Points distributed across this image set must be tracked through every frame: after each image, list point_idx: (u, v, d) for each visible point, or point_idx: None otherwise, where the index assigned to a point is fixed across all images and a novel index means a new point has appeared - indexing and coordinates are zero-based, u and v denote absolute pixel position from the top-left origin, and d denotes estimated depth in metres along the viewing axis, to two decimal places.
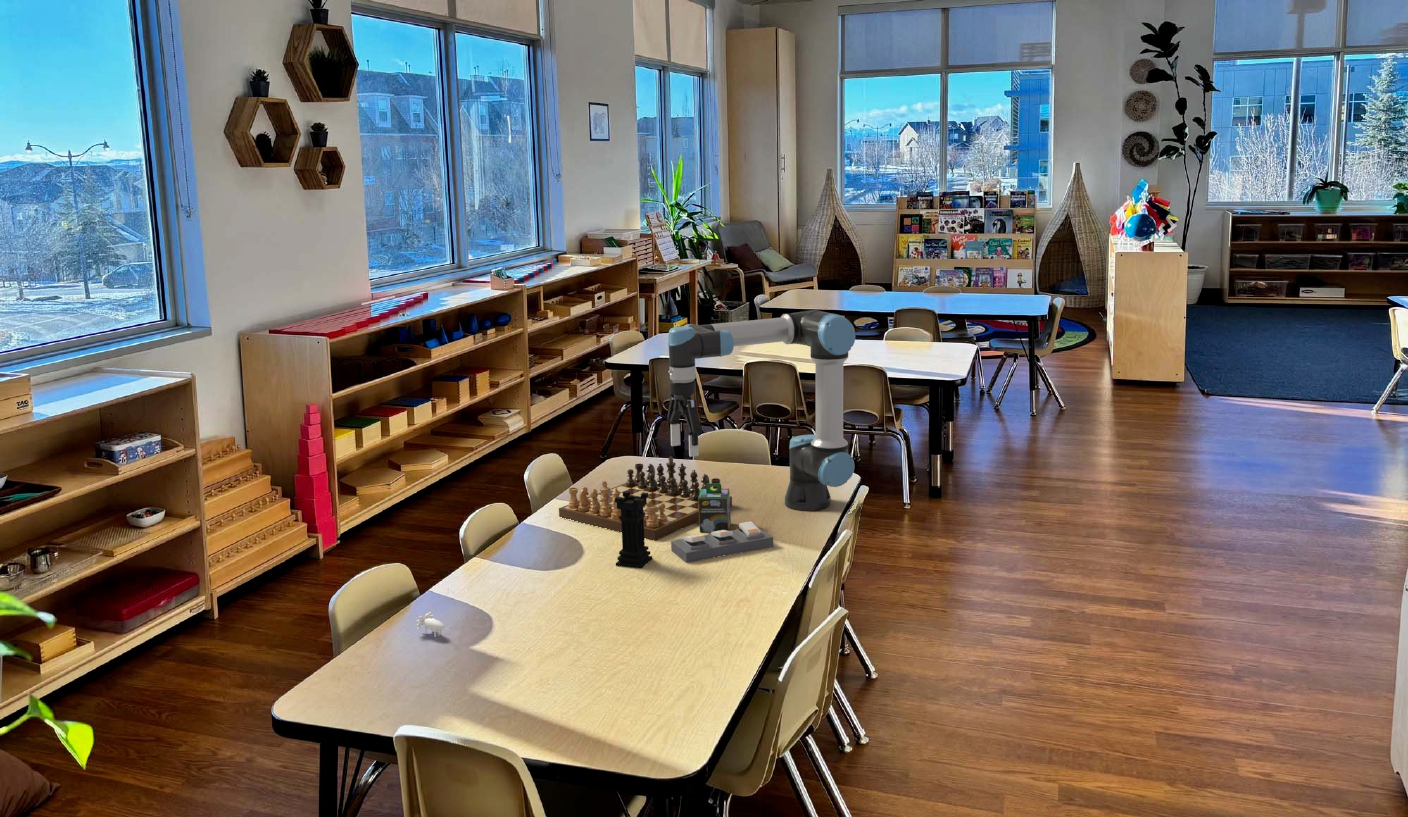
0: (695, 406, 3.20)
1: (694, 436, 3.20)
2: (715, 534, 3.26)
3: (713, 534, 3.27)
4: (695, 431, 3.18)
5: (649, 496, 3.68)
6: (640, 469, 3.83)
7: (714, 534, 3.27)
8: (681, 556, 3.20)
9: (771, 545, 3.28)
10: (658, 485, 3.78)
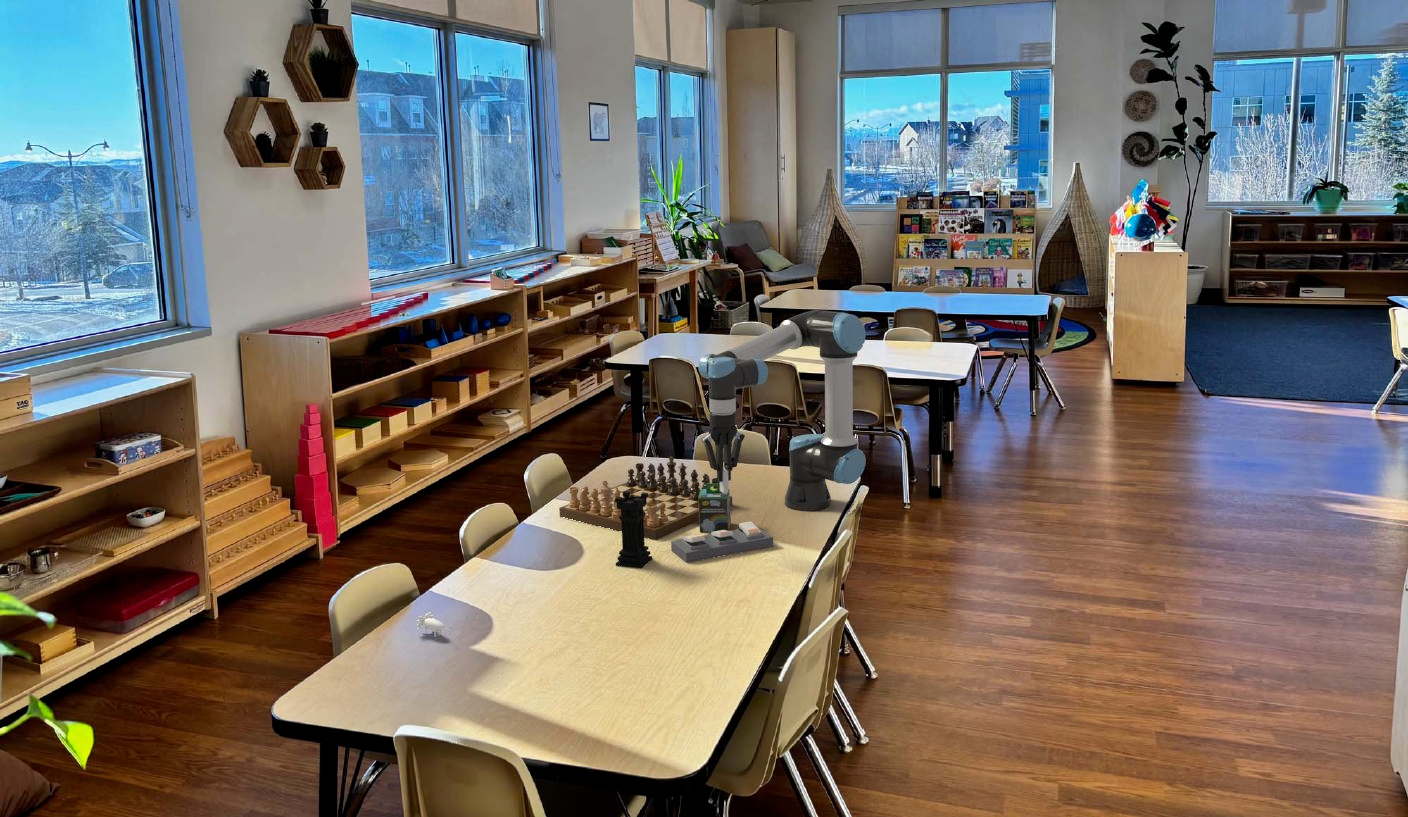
0: (706, 445, 3.15)
1: (717, 471, 3.20)
2: (715, 534, 3.26)
3: (713, 534, 3.27)
4: (710, 466, 3.19)
5: (649, 496, 3.69)
6: (640, 469, 3.83)
7: (714, 534, 3.27)
8: (681, 556, 3.20)
9: (771, 545, 3.28)
10: (658, 485, 3.79)
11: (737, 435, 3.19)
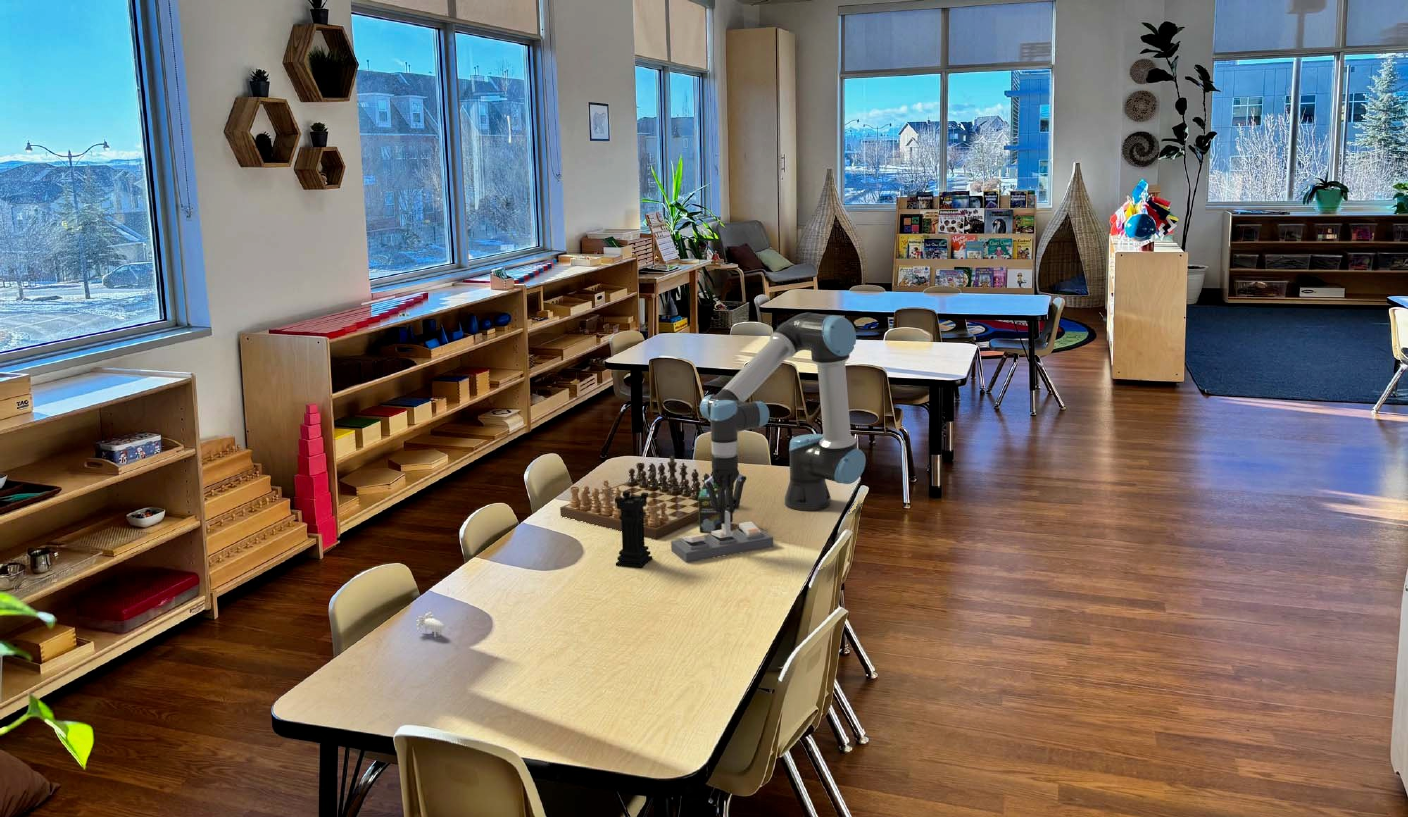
0: (709, 487, 3.17)
1: (719, 513, 3.22)
2: (715, 534, 3.26)
3: (713, 534, 3.27)
4: (712, 508, 3.21)
5: (650, 495, 3.69)
6: (641, 468, 3.84)
7: (714, 534, 3.27)
8: (681, 556, 3.20)
9: (771, 545, 3.28)
10: (659, 484, 3.79)
11: (739, 477, 3.21)
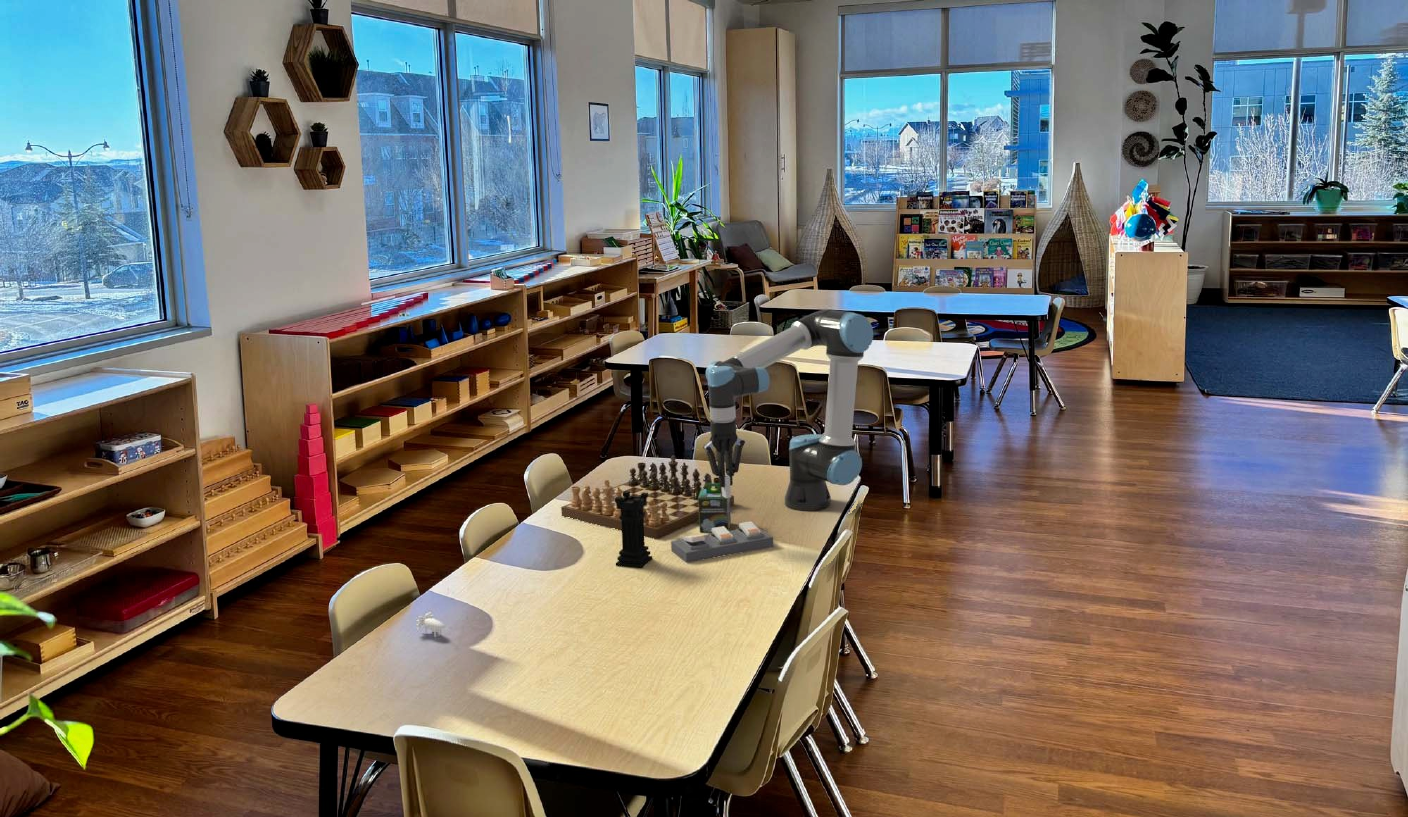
0: (708, 452, 3.23)
1: (719, 477, 3.28)
2: (715, 534, 3.26)
3: (713, 532, 3.27)
4: (713, 473, 3.27)
5: (651, 495, 3.69)
6: (642, 468, 3.84)
7: (714, 533, 3.26)
8: (681, 556, 3.20)
9: (771, 545, 3.28)
10: (660, 484, 3.79)
11: (737, 441, 3.27)
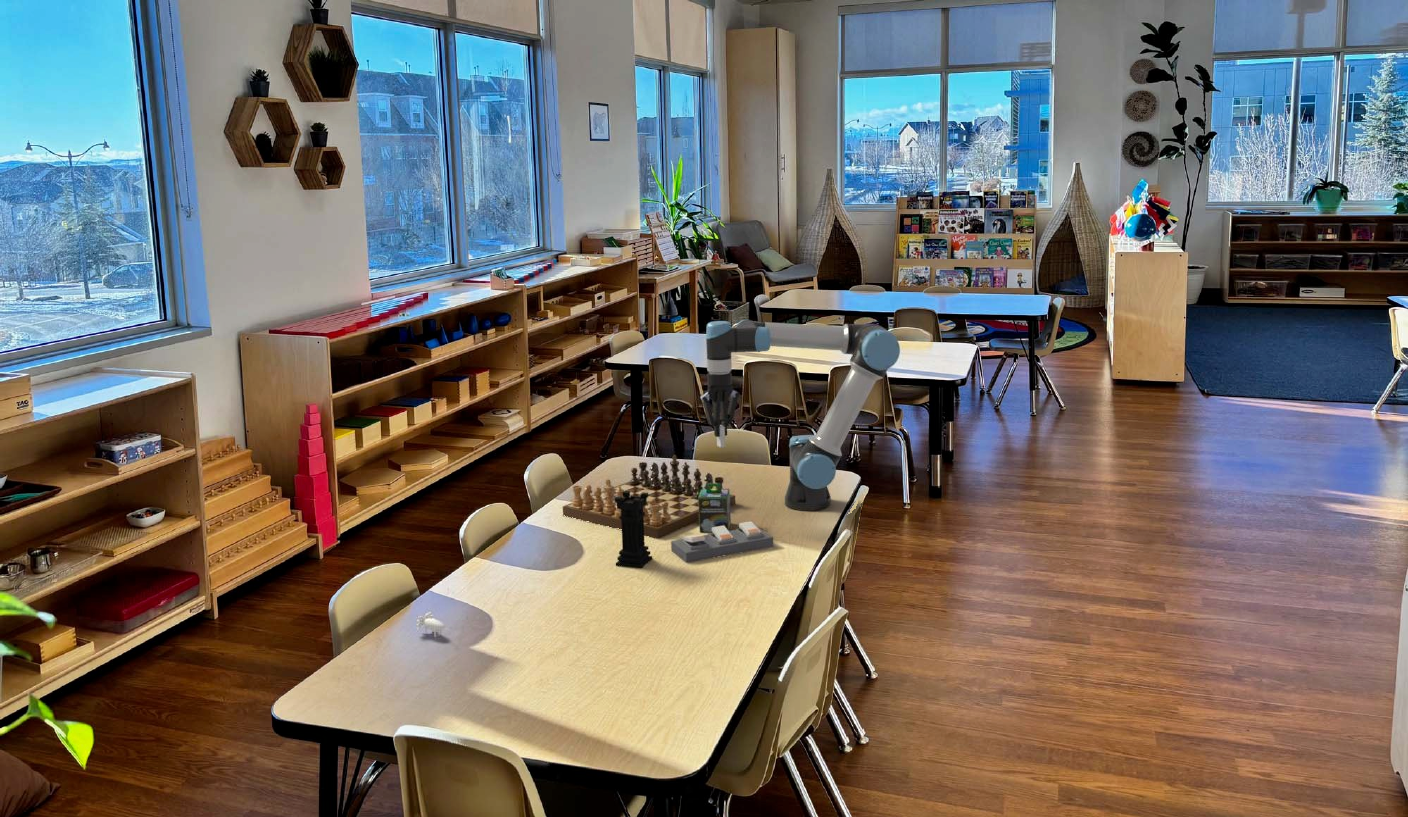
0: (704, 402, 3.41)
1: (714, 427, 3.45)
2: (715, 534, 3.26)
3: (713, 532, 3.27)
4: (708, 422, 3.44)
5: (653, 494, 3.70)
6: (644, 468, 3.84)
7: (714, 533, 3.26)
8: (681, 556, 3.20)
9: (771, 545, 3.28)
10: (662, 484, 3.80)
11: (733, 393, 3.44)
